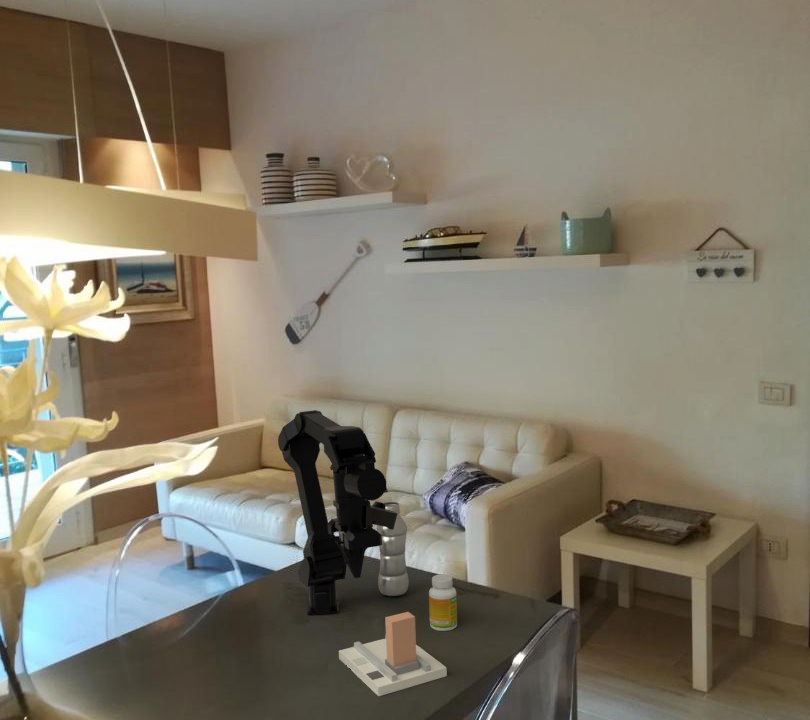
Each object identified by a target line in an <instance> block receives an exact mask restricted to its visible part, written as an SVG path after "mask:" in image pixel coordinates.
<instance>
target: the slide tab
mask: <svg viewBox="0 0 810 720" xmlns="http://www.w3.org/2000/svg"><path fill="white" fill-rule="evenodd" d="M384 622H385V623H384V625H385V634H386V650H387V659H385V664H386V665H387V666H388V667H389V668H390V669H391V670H393V671H394V672H395V673H396V674H397V675H400V674H404V673H407V672H411V671H414V670H417V669H419V662H418V661H417V660H416V645H417V641H416V640H417V637H416V636H417V635H416V634H417V633H416V616H415V615H413V614H412V613H410V612H409V611H406V612H402V613H398V614H394V615H389V616H385V621H384Z"/></svg>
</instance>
